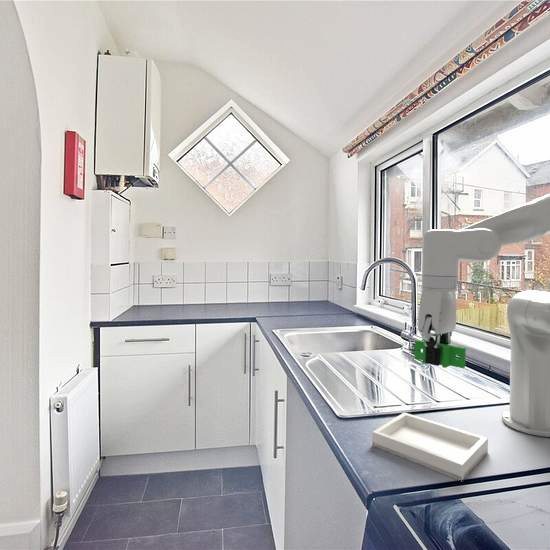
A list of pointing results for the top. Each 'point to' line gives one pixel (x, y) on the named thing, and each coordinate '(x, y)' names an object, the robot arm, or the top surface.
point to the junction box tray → (431, 444)
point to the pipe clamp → (443, 354)
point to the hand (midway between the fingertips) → (437, 361)
